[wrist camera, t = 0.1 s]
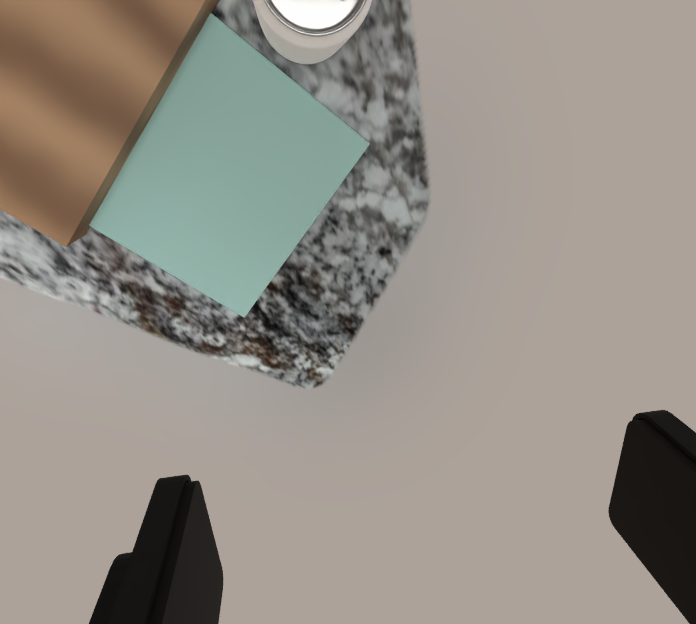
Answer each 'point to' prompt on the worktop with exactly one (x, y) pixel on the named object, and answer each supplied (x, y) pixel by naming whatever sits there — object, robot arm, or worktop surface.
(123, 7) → the board
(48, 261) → the worktop surface
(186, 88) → the mat
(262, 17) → the can
